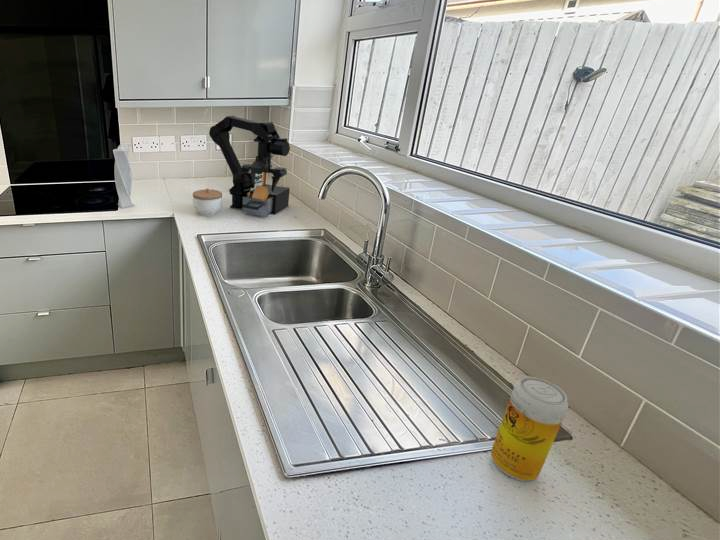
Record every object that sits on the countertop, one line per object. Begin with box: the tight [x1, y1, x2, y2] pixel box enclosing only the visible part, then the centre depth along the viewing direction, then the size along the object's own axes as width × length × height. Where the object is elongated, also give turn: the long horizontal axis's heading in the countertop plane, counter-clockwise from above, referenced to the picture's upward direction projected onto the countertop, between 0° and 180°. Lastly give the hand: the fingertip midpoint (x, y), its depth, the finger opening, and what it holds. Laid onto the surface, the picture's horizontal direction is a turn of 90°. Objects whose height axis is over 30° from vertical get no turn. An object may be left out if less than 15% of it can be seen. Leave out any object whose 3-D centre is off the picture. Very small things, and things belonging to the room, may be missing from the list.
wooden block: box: [252, 185, 269, 200], centre depth 173 cm, size 5×6×4 cm
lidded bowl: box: [192, 188, 223, 217], centre depth 174 cm, size 13×13×11 cm
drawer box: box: [250, 183, 290, 215], centre depth 182 cm, size 15×13×9 cm
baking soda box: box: [243, 162, 267, 196], centre depth 199 cm, size 10×6×16 cm
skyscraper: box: [112, 142, 134, 209], centre depth 182 cm, size 8×8×28 cm
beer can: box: [490, 376, 569, 482], centre depth 60 cm, size 6×6×15 cm
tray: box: [241, 194, 274, 218], centre depth 174 cm, size 18×11×7 cm, turn 147°
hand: (262, 189), depth 174 cm, fingers open, 9 cm apart
